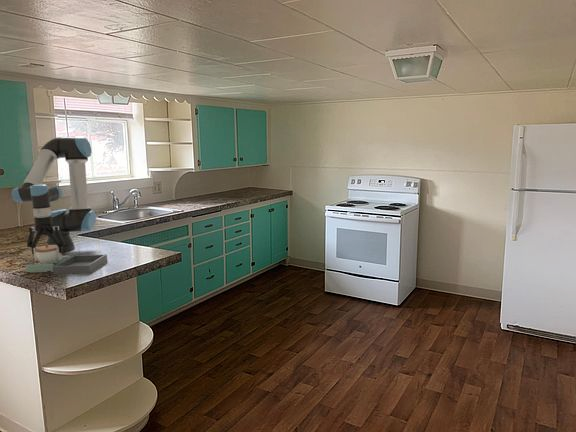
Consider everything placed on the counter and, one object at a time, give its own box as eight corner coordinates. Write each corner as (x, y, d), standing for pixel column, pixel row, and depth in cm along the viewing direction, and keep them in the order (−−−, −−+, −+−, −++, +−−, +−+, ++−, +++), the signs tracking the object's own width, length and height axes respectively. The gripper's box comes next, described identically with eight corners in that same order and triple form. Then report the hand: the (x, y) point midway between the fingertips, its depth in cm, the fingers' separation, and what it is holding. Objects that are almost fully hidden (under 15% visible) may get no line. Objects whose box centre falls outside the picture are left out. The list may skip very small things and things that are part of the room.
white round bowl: (64, 261, 223) (62, 243, 221) (41, 266, 215) (39, 248, 213) (55, 258, 230) (53, 240, 228) (33, 263, 222) (30, 244, 220)
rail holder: (26, 272, 214) (25, 265, 214) (45, 263, 231) (44, 256, 230) (53, 271, 214) (52, 264, 214) (70, 262, 231) (69, 255, 230)
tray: (53, 275, 208) (52, 266, 208) (74, 263, 229) (73, 255, 228) (90, 273, 208) (89, 265, 208) (107, 261, 229) (106, 254, 228)
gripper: (14, 218, 215) (20, 262, 219) (62, 216, 215) (68, 261, 219) (23, 215, 222) (29, 258, 226) (70, 214, 222) (75, 256, 226)
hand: (48, 259), depth 222 cm, fingers closed on white round bowl, 11 cm apart
